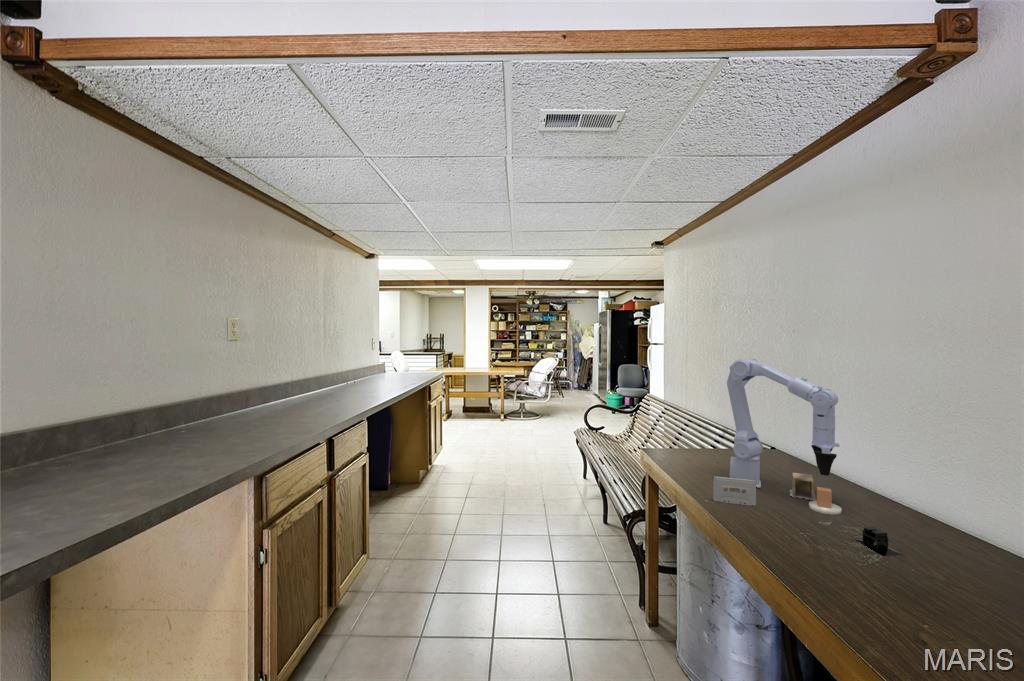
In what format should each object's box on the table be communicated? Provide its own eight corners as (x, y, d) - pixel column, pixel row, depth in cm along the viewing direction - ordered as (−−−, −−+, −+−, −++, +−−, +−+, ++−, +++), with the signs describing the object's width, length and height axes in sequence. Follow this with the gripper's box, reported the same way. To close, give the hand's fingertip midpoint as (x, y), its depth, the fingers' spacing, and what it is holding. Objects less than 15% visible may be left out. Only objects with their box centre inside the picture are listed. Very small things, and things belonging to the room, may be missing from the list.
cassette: (713, 501, 139) (713, 477, 139) (713, 499, 141) (713, 475, 141) (756, 506, 135) (756, 481, 135) (755, 504, 137) (755, 480, 137)
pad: (790, 496, 144) (790, 496, 144) (789, 490, 150) (789, 489, 150) (816, 500, 140) (816, 500, 140) (814, 493, 146) (814, 493, 146)
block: (817, 506, 133) (817, 489, 132) (816, 502, 135) (816, 486, 135) (831, 508, 131) (831, 491, 131) (830, 504, 134) (830, 488, 134)
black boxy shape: (841, 537, 116) (841, 520, 116) (866, 536, 116) (866, 519, 116) (885, 561, 103) (885, 542, 103) (913, 560, 104) (913, 540, 104)
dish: (810, 511, 132) (810, 507, 132) (807, 502, 139) (807, 498, 138) (843, 517, 128) (843, 512, 128) (839, 507, 135) (839, 503, 134)
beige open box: (793, 496, 143) (793, 477, 143) (792, 490, 149) (792, 472, 149) (813, 499, 141) (813, 480, 141) (811, 493, 146) (811, 475, 146)
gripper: (843, 434, 130) (842, 480, 130) (836, 425, 142) (835, 467, 142) (814, 431, 133) (813, 476, 133) (809, 423, 146) (809, 464, 146)
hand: (823, 471), depth 138 cm, fingers open, 7 cm apart
